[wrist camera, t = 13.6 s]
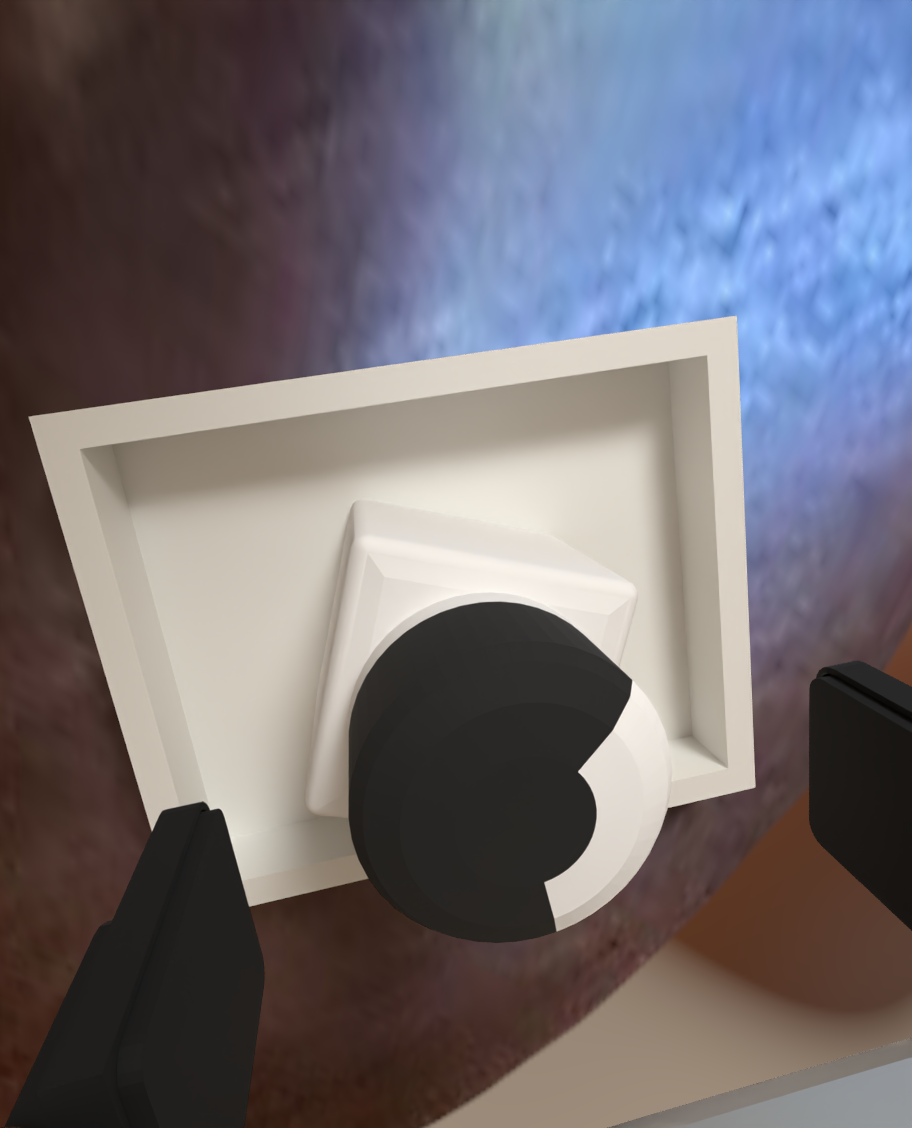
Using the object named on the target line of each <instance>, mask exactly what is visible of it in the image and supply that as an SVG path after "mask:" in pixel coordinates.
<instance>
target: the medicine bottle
mask: <svg viewBox="0 0 912 1128" xmlns="http://www.w3.org/2000/svg"><path fill="white" fill-rule="evenodd" d="M637 601H638V591H637V589H636V587H635V586H634V584H633V583H632V582H630V581H628V580H627V579H625V578H623V577H622V576H620V575H618V574H617V573H615V572H613V571H611V570H610V569H608V568H606V567H605V566H603V565H601V564H600V563H598V562H596V561H595V560H593V559H591V558H590V557H588V556H586V555H584V554H583V553H581V552H579V551H578V550H576V549H574V548H573V547H571V546H569V545H568V544H566V543H564V542H563V541H561V540H559V539H557V538H556V537H554V536H552V535H549V534H544V533H539V532H533V531H528V530H523V529H518V528H513V527H507V526H502V525H497V524H492V523H486V522H481V521H476V520H471V519H466V518H460V517H455V516H450V515H445V514H440V513H434V512H429V511H424V510H419V509H413V508H408V507H403V506H398V505H393V504H387V503H382V502H377V501H372V500H367V499H358V500H357V501H355V502H354V503H353V504H352V506H351V508H350V514H349V519H348V525H347V530H346V536H345V541H344V547H343V552H342V558H341V563H340V569H339V574H338V580H337V585H336V591H335V596H334V602H333V607H332V613H331V618H330V624H329V629H328V635H327V640H326V646H325V651H324V657H323V662H322V668H321V673H320V678H319V684H318V689H317V697H316V705H315V714H314V722H313V731H312V740H311V748H310V757H309V765H308V774H307V783H306V791H305V804H306V807H307V809H308V810H309V811H310V812H311V813H312V814H315V815H320V816H331V817H341V818H348V819H349V826H350V832H351V838H352V842H353V845H354V848H355V851H356V854H357V857H358V860H359V862H360V864H361V866H362V867H363V869H364V871H365V873H366V875H367V877H368V878H369V880H370V881H371V882H372V884H373V885H374V886H375V888H376V889H377V890H378V892H379V893H380V894H381V895H382V896H383V897H384V898H385V899H386V900H387V901H388V902H389V903H390V904H391V905H392V906H393V907H394V908H396V909H397V910H398V911H400V912H401V913H403V914H404V915H405V916H407V917H408V918H410V919H411V920H413V921H415V922H417V923H419V924H421V925H423V926H425V927H427V928H429V929H432V930H435V931H437V932H440V933H443V934H446V935H449V936H453V937H456V938H461V939H466V940H472V941H477V942H493V943H500V942H516V941H522V940H527V939H533V938H538V937H541V936H544V935H548V934H551V933H554V932H557V931H559V930H562V929H564V928H566V927H568V926H571V925H573V924H575V923H577V922H579V921H581V920H582V919H584V918H586V917H587V916H589V915H591V914H593V913H594V912H595V911H597V910H598V909H599V908H601V907H602V906H604V905H605V904H606V903H608V902H609V901H610V900H611V899H612V898H613V897H614V896H615V895H617V894H618V893H619V892H620V891H621V890H622V889H623V888H624V887H625V886H626V885H627V883H628V882H629V881H630V880H631V879H632V878H633V876H634V875H635V874H636V873H637V872H638V870H639V869H640V867H641V866H642V864H643V862H644V861H645V859H646V858H647V856H648V855H649V853H650V851H651V849H652V847H653V845H654V843H655V840H656V838H657V836H658V834H659V832H660V830H661V827H662V824H663V821H664V818H665V815H666V812H667V809H668V803H669V798H670V793H671V781H672V764H671V754H670V748H669V744H668V740H667V736H666V732H665V729H664V727H663V725H662V722H661V720H660V718H659V716H658V713H657V711H656V710H655V708H654V707H653V705H652V704H651V702H650V700H649V699H648V697H647V696H646V695H645V693H644V692H643V691H642V690H641V689H640V688H639V687H638V686H637V684H636V683H635V682H634V681H633V680H632V679H631V678H630V677H629V676H628V675H627V674H626V673H624V672H623V671H622V670H621V669H620V668H619V667H620V663H621V659H622V656H623V652H624V648H625V645H626V641H627V637H628V634H629V630H630V626H631V623H632V619H633V615H634V612H635V608H636V604H637Z"/></svg>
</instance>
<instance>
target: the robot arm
mask: <svg viewBox="0 0 912 1128" xmlns="http://www.w3.org/2000/svg"><path fill="white" fill-rule="evenodd" d="M809 821H810V826H811V830H812V832H813V834H814V836H815V838H816V839H817V841H818V842H819V843H820V844H821V846H822V847H823V848H825V849H826V850H827V851H828V852H829V853H830V854H831V855H832V856H833V857H834V858H835V859H836V860H837V861H838V862H839V863H840V864H842V866H844V867H845V868H846V869H847V870H848V871H849V872H850V873H851V874H852V875H853V876H854V877H855V878H856V879H857V880H858V881H859V882H861V883H862V884H863V885H864V886H865V887H866V888H867V889H868V890H869V891H870V892H871V893H872V894H874V896H875V897H877V898H878V899H879V900H880V901H881V902H882V903H883V904H884V905H885V906H886V907H887V908H888V909H889V910H891V912H892V913H894V914H895V915H896V916H897V917H898V918H899V919H900V920H901V921H902V922H903V923H904V924H905V925H906V926H907V927H909V928H910V929H911V930H912V687H911V686H909V685H907V684H905V683H903V682H901V681H899V680H897V679H895V678H893V677H891V676H889V675H888V674H886V673H884V672H882V671H880V670H878V669H876V668H874V667H872V666H870V665H868V664H866V663H864V662H861V661H852V662H847V663H843V664H838V665H833V666H829V667H824V668H822V669H821V670H819V672H818V674H817V677H816V679H814V680H813V681H812V682H811V684H810V698H809ZM263 989H264V962H263V956H262V952H261V948H260V945H259V941H258V937H257V934H256V930H255V926H254V923H253V919H252V915H251V912H250V908H249V904H248V901H247V897H246V894H245V890H244V886H243V883H242V879H241V875H240V872H239V868H238V864H237V861H236V857H235V854H234V850H233V846H232V843H231V839H230V835H229V832H228V828H227V824H226V821H225V817H224V814H223V812H222V810H221V809H219V808H218V809H214V810H210V809H209V807H208V805H207V804H206V803H205V802H204V801H202V802H198V803H193V804H189V805H184V806H179V807H175V808H170V809H165V810H163V811H162V812H161V813H160V815H159V817H158V819H157V822H156V824H155V826H154V828H153V831H152V833H151V835H150V837H149V840H148V842H147V844H146V846H145V849H144V851H143V853H142V855H141V858H140V860H139V862H138V864H137V867H136V869H135V871H134V873H133V876H132V878H131V880H130V882H129V885H128V887H127V889H126V891H125V893H124V896H123V898H122V900H121V902H120V905H119V907H118V909H117V911H116V914H115V916H114V918H113V920H112V921H108V922H106V923H104V924H103V925H101V926H100V927H99V929H98V930H97V932H96V933H95V935H94V937H93V939H92V941H91V943H90V945H89V947H88V950H87V952H86V954H85V956H84V958H83V960H82V962H81V964H80V967H79V969H78V971H77V973H76V975H75V977H74V979H73V982H72V984H71V986H70V988H69V990H68V992H67V994H66V997H65V999H64V1001H63V1003H62V1005H61V1007H60V1009H59V1012H58V1014H57V1016H56V1018H55V1020H54V1022H53V1024H52V1027H51V1029H50V1031H49V1033H48V1035H47V1037H46V1039H45V1042H44V1044H43V1046H42V1048H41V1050H40V1052H39V1054H38V1057H37V1059H36V1061H35V1063H34V1065H33V1067H32V1069H31V1072H30V1074H29V1076H28V1078H27V1080H26V1082H25V1084H24V1086H23V1089H22V1091H21V1093H20V1095H19V1097H18V1099H17V1101H16V1104H15V1106H14V1108H13V1110H12V1112H11V1114H10V1116H9V1119H8V1121H7V1123H6V1125H5V1127H2V1128H244V1126H245V1119H246V1112H247V1104H248V1097H249V1090H250V1083H251V1075H252V1068H253V1061H254V1054H255V1046H256V1039H257V1032H258V1025H259V1018H260V1010H261V1003H262V996H263ZM609 1128H912V1038H909V1039H906V1040H902V1041H899V1042H896V1043H892V1044H889V1045H886V1046H882V1047H879V1048H875V1049H872V1050H869V1051H865V1052H862V1053H858V1054H855V1055H851V1056H848V1057H845V1058H841V1059H838V1060H834V1061H831V1062H828V1063H824V1064H821V1065H817V1066H814V1067H810V1068H807V1069H804V1070H800V1071H797V1072H794V1073H790V1074H787V1075H783V1076H780V1077H777V1078H773V1079H770V1080H766V1081H764V1082H760V1083H756V1084H753V1085H750V1086H746V1087H743V1088H739V1089H736V1090H733V1091H729V1092H726V1093H723V1094H719V1095H716V1096H712V1097H709V1098H706V1099H703V1100H699V1101H696V1102H692V1103H689V1104H686V1105H682V1106H679V1107H675V1108H672V1109H669V1110H665V1111H662V1112H659V1113H655V1114H652V1115H648V1116H645V1117H642V1118H639V1119H635V1120H632V1121H629V1122H625V1123H622V1124H619V1125H616V1126H612V1127H609Z"/></svg>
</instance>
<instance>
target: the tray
mask: <svg viewBox="0 0 912 1128" xmlns="http://www.w3.org/2000/svg"><path fill="white" fill-rule="evenodd" d="M29 420H30V423H31V427H32V430H33V433H34V437H35V440H36V444H37V447H38V450H39V454H40V457H41V460H42V464H43V467H44V470H45V474H46V477H47V481H48V484H49V487H50V491H51V494H52V497H53V501H54V504H55V507H56V511H57V514H58V518H59V521H60V524H61V528H62V531H63V534H64V538H65V541H66V544H67V548H68V551H69V555H70V558H71V561H72V565H73V568H74V571H75V575H76V578H77V581H78V585H79V588H80V591H81V595H82V598H83V602H84V605H85V608H86V612H87V615H88V618H89V622H90V625H91V628H92V632H93V635H94V639H95V642H96V645H97V649H98V652H99V655H100V659H101V662H102V665H103V669H104V672H105V676H106V679H107V682H108V686H109V689H110V692H111V696H112V699H113V702H114V706H115V709H116V713H117V716H118V719H119V723H120V726H121V729H122V733H123V736H124V739H125V743H126V746H127V750H128V753H129V756H130V760H131V763H132V766H133V770H134V773H135V776H136V780H137V783H138V787H139V790H140V793H141V797H142V800H143V803H144V807H145V810H146V813H147V817H148V820H149V824H150V827H151V830H152V831H153V828H154V826H155V824H156V822H157V819H158V817H159V815H160V813H161V812H162V811H163V810H165V809H170V808H175V807H179V806H184V805H189V804H193V803H198V802H202V801H204V802H205V803H206V804H207V805H208V807H209V809H210V810H214V809H218V808H219V809H221V810H222V812H223V814H224V817H225V821H226V824H227V828H228V832H229V835H230V839H231V843H232V846H233V850H234V854H235V857H236V861H237V864H238V868H239V872H240V875H241V879H242V883H243V886H244V890H245V894H246V897H247V901H248V904H249V907H250V906H254V905H258V904H262V903H267V902H271V901H275V900H279V899H284V898H288V897H292V896H296V895H301V894H305V893H309V892H313V891H318V890H322V889H326V888H330V887H335V886H339V885H343V884H347V883H352V882H356V881H360V880H364V879H369V878H368V877H367V875H366V873H365V871H364V869H363V867H362V866H361V864H360V862H359V860H358V857H357V854H356V851H355V848H354V845H353V842H352V838H351V832H350V826H349V819H348V818H341V817H331V816H320V815H315V814H312V813H311V812H310V811H309V810H308V809H307V807H306V804H305V791H306V783H307V774H308V765H309V757H310V748H311V740H312V731H313V722H314V714H315V705H316V697H317V689H318V684H319V678H320V673H321V668H322V662H323V657H324V651H325V646H326V640H327V635H328V629H329V624H330V618H331V613H332V607H333V602H334V596H335V591H336V585H337V580H338V574H339V569H340V563H341V558H342V552H343V547H344V541H345V536H346V530H347V525H348V519H349V514H350V508H351V506H352V504H353V503H354V502H355V501H357V500H358V499H367V500H372V501H377V502H382V503H387V504H393V505H398V506H403V507H408V508H413V509H419V510H424V511H429V512H434V513H440V514H445V515H450V516H455V517H460V518H466V519H471V520H476V521H481V522H486V523H492V524H497V525H502V526H507V527H513V528H518V529H523V530H528V531H533V532H539V533H544V534H549V535H552V536H554V537H556V538H557V539H559V540H561V541H563V542H564V543H566V544H568V545H569V546H571V547H573V548H574V549H576V550H578V551H579V552H581V553H583V554H584V555H586V556H588V557H590V558H591V559H593V560H595V561H596V562H598V563H600V564H601V565H603V566H605V567H606V568H608V569H610V570H611V571H613V572H615V573H617V574H618V575H620V576H622V577H623V578H625V579H627V580H628V581H630V582H632V583H633V584H634V586H635V587H636V589H637V591H638V601H637V604H636V608H635V612H634V615H633V619H632V623H631V626H630V630H629V634H628V637H627V641H626V645H625V648H624V652H623V656H622V659H621V663H620V667H619V668H620V669H621V670H622V671H623V672H624V673H626V674H627V675H628V676H629V677H630V678H631V679H632V680H633V681H634V682H635V683H636V684H637V686H638V687H639V688H640V689H641V690H642V691H643V692H644V693H645V695H646V696H647V697H648V699H649V700H650V702H651V704H652V705H653V707H654V708H655V710H656V711H657V713H658V716H659V718H660V720H661V722H662V725H663V727H664V729H665V732H666V736H667V740H668V744H669V748H670V754H671V764H672V781H671V793H670V798H669V803H668V808H670V807H674V806H679V805H683V804H687V803H691V802H695V801H700V800H704V799H708V798H712V797H717V796H721V795H725V794H729V793H734V792H738V791H742V790H746V789H751V788H755V766H754V741H753V715H752V690H751V664H750V639H749V614H748V588H747V563H746V538H745V512H744V487H743V462H742V436H741V411H740V385H739V360H738V335H737V316H732V317H725V318H718V319H710V320H703V321H696V322H689V323H682V324H675V325H668V326H661V327H654V328H647V329H640V330H633V331H626V332H619V333H612V334H605V335H598V336H591V337H584V338H577V339H570V340H563V341H556V342H549V343H542V344H535V345H528V346H521V347H514V348H507V349H500V350H493V351H486V352H479V353H472V354H465V355H458V356H451V357H444V358H437V359H430V360H423V361H416V362H409V363H402V364H395V365H388V366H381V367H374V368H367V369H360V370H353V371H346V372H339V373H332V374H325V375H318V376H311V377H304V378H297V379H290V380H283V381H276V382H269V383H262V384H255V385H248V386H241V387H233V388H226V389H219V390H212V391H205V392H198V393H191V394H184V395H177V396H170V397H163V398H156V399H149V400H142V401H135V402H128V403H121V404H114V405H107V406H100V407H93V408H86V409H79V410H72V411H65V412H58V413H51V414H44V415H37V416H30V417H29Z"/></svg>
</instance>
